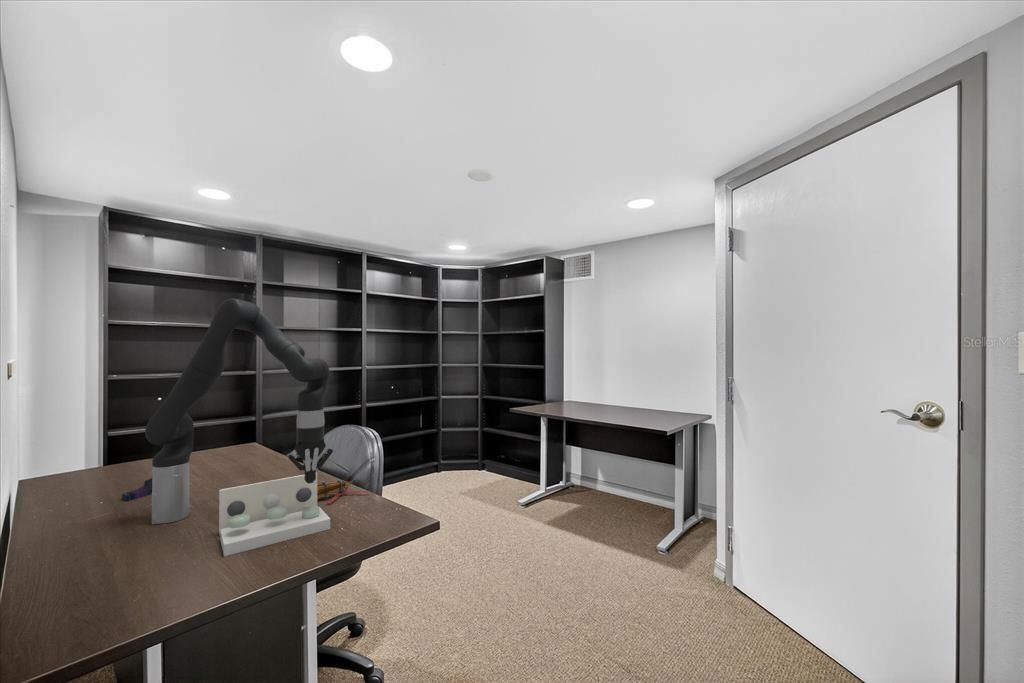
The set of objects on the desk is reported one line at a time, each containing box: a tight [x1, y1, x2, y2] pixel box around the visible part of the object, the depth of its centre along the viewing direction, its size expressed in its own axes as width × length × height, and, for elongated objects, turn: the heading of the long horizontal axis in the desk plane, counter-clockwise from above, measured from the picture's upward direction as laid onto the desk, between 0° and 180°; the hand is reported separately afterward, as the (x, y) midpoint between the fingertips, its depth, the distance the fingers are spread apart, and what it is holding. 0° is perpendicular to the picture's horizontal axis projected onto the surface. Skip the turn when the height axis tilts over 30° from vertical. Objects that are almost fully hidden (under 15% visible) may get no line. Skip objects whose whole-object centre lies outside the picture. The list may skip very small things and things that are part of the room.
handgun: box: [121, 477, 152, 502], centre depth 162 cm, size 3×20×15 cm
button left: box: [229, 514, 250, 528], centre depth 116 cm, size 5×5×2 cm
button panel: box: [219, 506, 331, 557], centre depth 122 cm, size 26×12×3 cm, turn 128°
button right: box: [302, 505, 320, 519], centre depth 127 cm, size 5×5×2 cm
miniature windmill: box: [317, 479, 369, 504], centre depth 150 cm, size 15×11×30 cm
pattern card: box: [218, 472, 318, 537], centre depth 130 cm, size 26×4×13 cm, turn 128°
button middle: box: [267, 506, 286, 520], centre depth 122 cm, size 5×5×2 cm
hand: (309, 482), depth 127 cm, fingers closed
